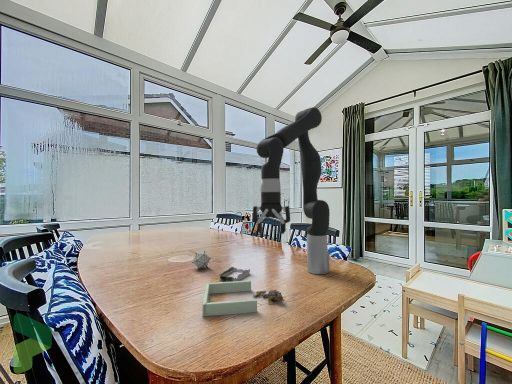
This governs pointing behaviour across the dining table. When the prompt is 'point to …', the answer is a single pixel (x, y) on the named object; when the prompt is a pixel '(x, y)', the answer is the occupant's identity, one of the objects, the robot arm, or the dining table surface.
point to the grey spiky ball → (201, 260)
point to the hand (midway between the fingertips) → (271, 233)
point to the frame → (228, 306)
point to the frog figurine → (268, 296)
